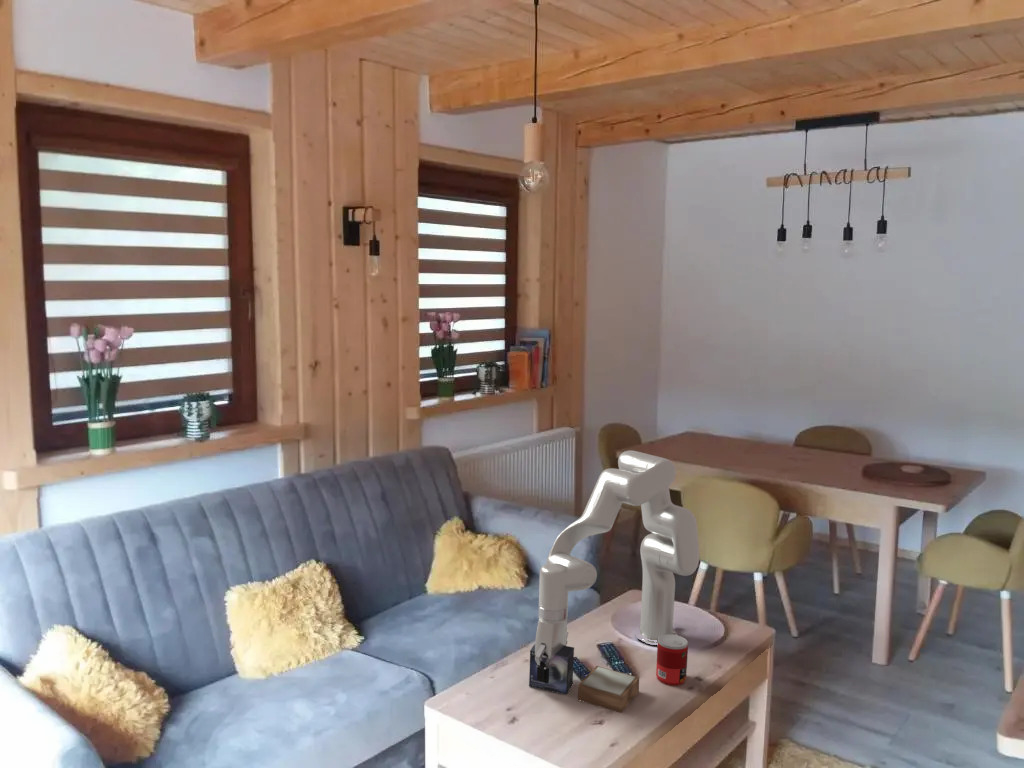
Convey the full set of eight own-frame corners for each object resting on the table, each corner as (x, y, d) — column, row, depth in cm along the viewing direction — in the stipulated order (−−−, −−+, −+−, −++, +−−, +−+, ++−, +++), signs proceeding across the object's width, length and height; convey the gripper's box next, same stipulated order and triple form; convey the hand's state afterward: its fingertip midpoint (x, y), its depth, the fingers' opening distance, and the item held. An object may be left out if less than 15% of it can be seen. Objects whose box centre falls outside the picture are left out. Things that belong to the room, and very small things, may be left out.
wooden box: (596, 679, 225) (596, 664, 224) (638, 691, 219) (639, 676, 218) (577, 699, 214) (577, 684, 214) (621, 712, 209) (622, 696, 208)
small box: (527, 687, 220) (528, 649, 219) (535, 676, 226) (536, 639, 225) (566, 695, 217) (567, 657, 215) (573, 684, 223) (574, 646, 221)
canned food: (686, 687, 222) (688, 648, 220) (655, 684, 223) (657, 645, 222) (686, 674, 229) (688, 635, 228) (656, 670, 231) (658, 632, 229)
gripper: (554, 597, 228) (553, 657, 230) (524, 620, 213) (522, 684, 215) (580, 603, 224) (578, 664, 227) (551, 627, 209) (549, 692, 212)
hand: (551, 673), depth 221 cm, fingers open, 9 cm apart
